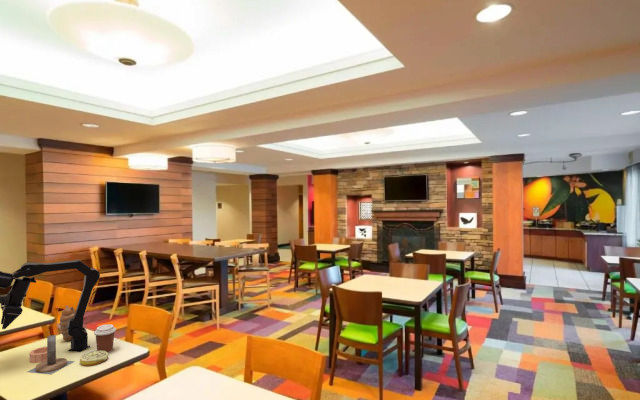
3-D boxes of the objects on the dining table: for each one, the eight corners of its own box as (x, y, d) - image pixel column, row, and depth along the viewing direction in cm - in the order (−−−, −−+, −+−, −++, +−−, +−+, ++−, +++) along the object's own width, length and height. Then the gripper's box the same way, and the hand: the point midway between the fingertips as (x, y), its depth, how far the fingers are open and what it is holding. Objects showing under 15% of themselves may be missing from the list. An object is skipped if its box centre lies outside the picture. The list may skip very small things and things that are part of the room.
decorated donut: (111, 361, 161) (111, 353, 161) (83, 370, 153) (83, 361, 153) (103, 354, 168) (103, 346, 168) (77, 362, 160) (77, 353, 160)
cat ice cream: (81, 339, 185) (82, 304, 185) (66, 344, 178) (66, 309, 178) (70, 336, 188) (70, 302, 188) (54, 342, 181) (55, 307, 181)
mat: (75, 362, 160) (75, 361, 160) (50, 375, 148) (50, 374, 148) (51, 359, 161) (51, 359, 161) (26, 372, 150) (26, 372, 150)
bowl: (59, 355, 166) (59, 347, 166) (41, 364, 157) (41, 355, 157) (43, 353, 167) (43, 345, 167) (24, 362, 158) (24, 353, 158)
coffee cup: (109, 355, 166) (110, 330, 166) (89, 356, 166) (89, 330, 166) (119, 347, 176) (119, 323, 175) (100, 347, 175) (100, 323, 175)
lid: (73, 361, 159) (73, 332, 159) (51, 373, 148) (51, 342, 148) (51, 359, 161) (52, 331, 161) (28, 371, 150) (28, 340, 150)
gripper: (-6, 284, 159) (-22, 319, 155) (-4, 290, 146) (-22, 329, 142) (24, 288, 167) (9, 322, 163) (29, 295, 153) (13, 332, 149)
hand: (2, 326), depth 154 cm, fingers open, 9 cm apart
